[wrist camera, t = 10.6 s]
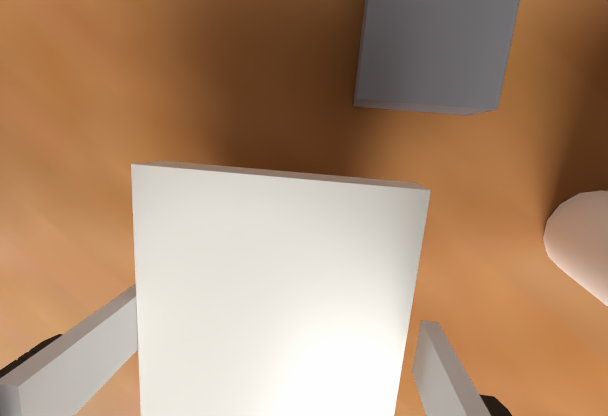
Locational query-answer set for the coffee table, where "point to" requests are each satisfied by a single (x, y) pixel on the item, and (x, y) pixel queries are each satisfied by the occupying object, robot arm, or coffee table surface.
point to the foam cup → (581, 240)
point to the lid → (272, 289)
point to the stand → (434, 55)
